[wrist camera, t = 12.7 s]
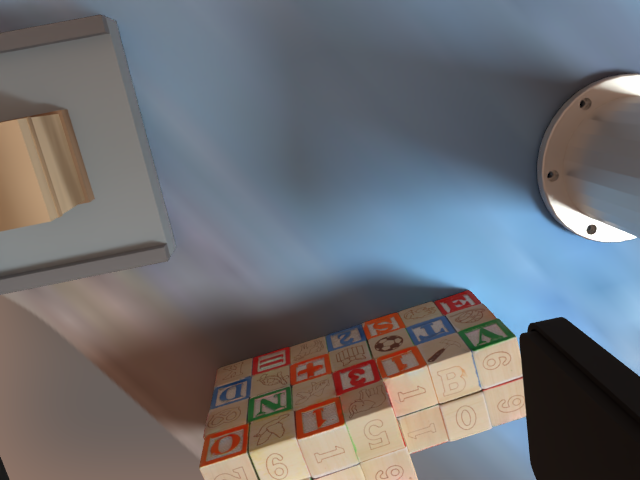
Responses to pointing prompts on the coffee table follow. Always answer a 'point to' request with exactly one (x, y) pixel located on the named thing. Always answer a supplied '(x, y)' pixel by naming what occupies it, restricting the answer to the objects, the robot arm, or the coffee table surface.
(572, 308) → the coffee table surface
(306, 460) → the stack of blocks
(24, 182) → the pedestal
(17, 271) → the dock
